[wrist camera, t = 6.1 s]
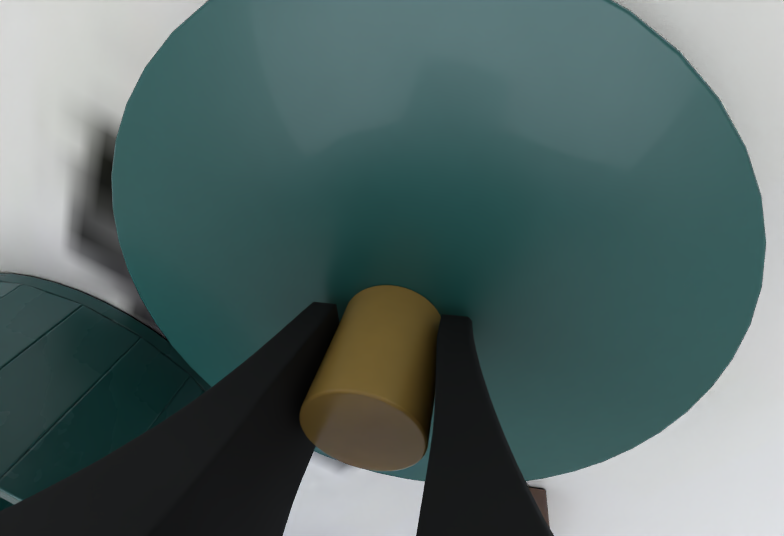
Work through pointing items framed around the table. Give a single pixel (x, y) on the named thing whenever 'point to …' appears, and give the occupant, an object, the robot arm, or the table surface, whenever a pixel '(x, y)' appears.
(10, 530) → the robot arm
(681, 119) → the tin lid
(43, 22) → the table surface
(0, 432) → the tin
